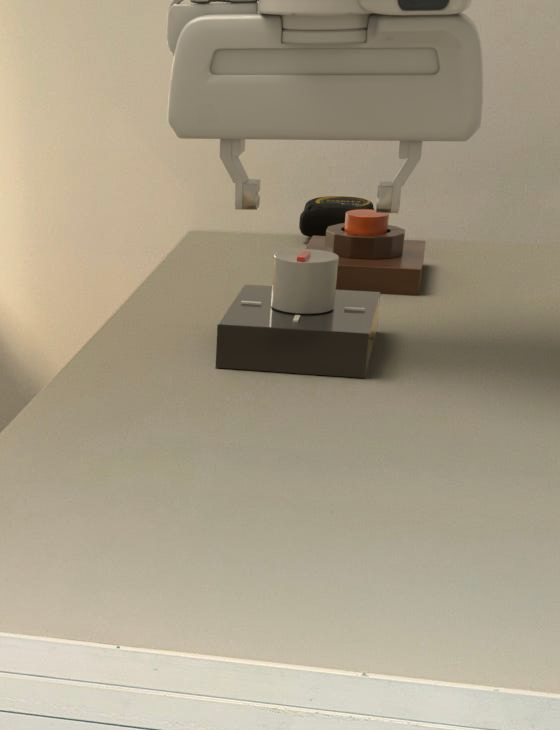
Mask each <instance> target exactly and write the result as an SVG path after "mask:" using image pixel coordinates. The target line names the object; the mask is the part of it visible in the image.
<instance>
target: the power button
mask: <svg viewBox="0 0 560 730" xmlns="http://www.w3.org/2000/svg"><path fill="white" fill-rule="evenodd" d="M389 217H390V213H376V209H374V210H366V209H361V210H350V211H347V212H346V215H345V227H344V232H347V233H353V234H365V235H374V234H385V233H387V229H388V225H389V221H390V219H389Z"/></svg>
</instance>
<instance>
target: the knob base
mask: <svg viewBox="0 0 560 730" xmlns="http://www.w3.org/2000/svg"><path fill="white" fill-rule="evenodd" d="M271 296H272V285H262V284H261V285H260V284H244V285H243V286H242V288H240V291H239V292H238V294H237V295H236V297H234V299H233V301H232V302H231V304H230V305H229V307H228V308H227V310H226V311H225V313H224V314H223V315H222V317H221V319H220V320H219V321H218V323H217V325H216V346H215V368H216V369H229V370H240V371H241V370H243V371H254V372H255V371H256V372H257V371H258V372H269V373H270V372H272V373H283V374H284V373H285V374H286V373H287V374H297V375H298V374H299V375H313V376H327V377H339V378H341V377H342V378H355V379H356V378H357V379H366V375H367V371H368V367H369V363H370V359H371V355H372V351H373V348H374V343H375V339H376V336H377V331H378V322H379V313H380V312H379V311H380V304H381V303H380V302H381V294H380V292H369V291H352V290H336V297H335V307H334V309H333V310H331V311H328V312H324V313H318V314H295V313H288V312H283V311H279V310H276V309H274V308H273V307H272V306H271Z"/></svg>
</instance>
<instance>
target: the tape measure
mask: <svg viewBox="0 0 560 730" xmlns="http://www.w3.org/2000/svg"><path fill="white" fill-rule="evenodd" d="M361 209H366V210H375V207H374V203H373V202H372V201H371V200H369V199H367V198H363V197H357V196H345V195H344V196H343V195H329V196H327V195H326V196H319V197H315V198H311V199H309V200H308V201H307V202H306V203H305V205H304V208H303V210H302V212H301V213H300V216H299V222H298V224H299V225H298V228H299V231H300V233H301V234H302V235H303V236H305V237H309V238H311V237H312V236H326V230H327V228H328V226H332V225H336V224H341V223H345V215H346V212H347V211H350V210H361Z"/></svg>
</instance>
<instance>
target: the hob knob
mask: <svg viewBox="0 0 560 730" xmlns="http://www.w3.org/2000/svg"><path fill="white" fill-rule="evenodd" d="M338 263H339V256H338V255H337V254H335V253H332V252H328V251H323V250H314V249H305V248H294V249H285V250H280V251H277V252H275V253H274V255H273V268H272V280H271V281H272V282H271V283H272V284H271V286H272V296H271V306H272V307H273V308H274V309H276V310H279V311H283V312H288V313H295V314H318V313H324V312H328V311H331V310H333V309H334V307H335V297H336V285H337V274H338Z"/></svg>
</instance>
